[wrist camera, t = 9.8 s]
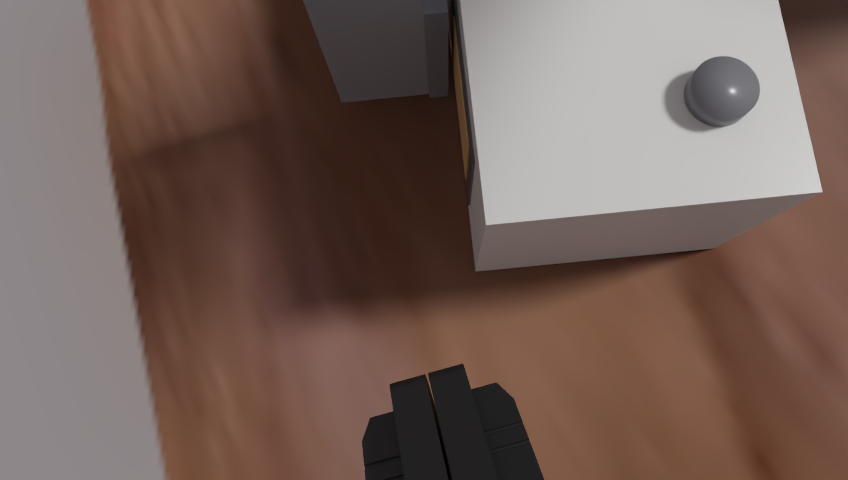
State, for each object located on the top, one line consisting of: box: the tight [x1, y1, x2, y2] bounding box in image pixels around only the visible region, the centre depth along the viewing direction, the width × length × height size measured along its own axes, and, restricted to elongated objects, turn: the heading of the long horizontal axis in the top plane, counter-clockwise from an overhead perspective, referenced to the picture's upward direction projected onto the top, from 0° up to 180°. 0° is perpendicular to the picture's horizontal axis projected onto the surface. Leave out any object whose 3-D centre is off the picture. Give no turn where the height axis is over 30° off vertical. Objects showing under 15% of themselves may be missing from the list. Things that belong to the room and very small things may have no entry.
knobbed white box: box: [448, 0, 822, 272], centre depth 30 cm, size 12×15×11 cm
